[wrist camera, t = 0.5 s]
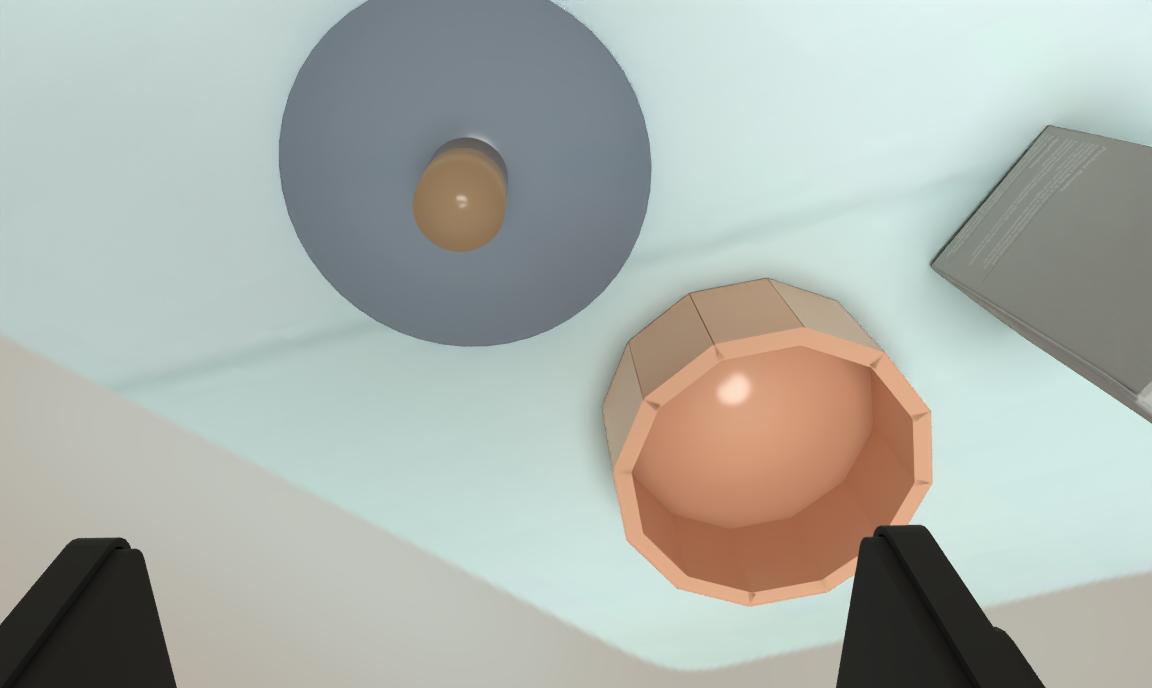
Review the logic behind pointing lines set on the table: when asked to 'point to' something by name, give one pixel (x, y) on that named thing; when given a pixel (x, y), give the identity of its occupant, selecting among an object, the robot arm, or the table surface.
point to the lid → (465, 166)
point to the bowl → (762, 442)
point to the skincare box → (1069, 258)
